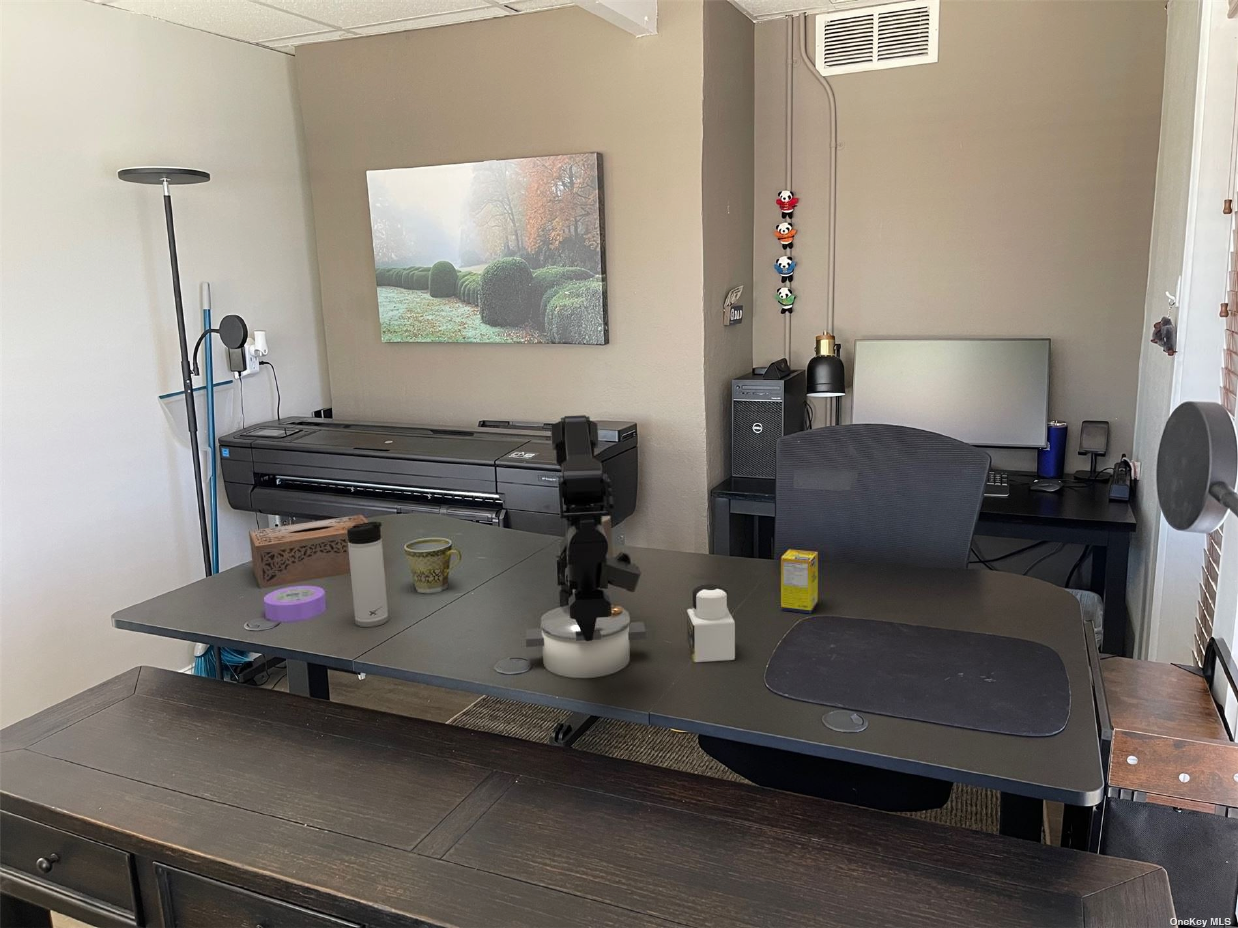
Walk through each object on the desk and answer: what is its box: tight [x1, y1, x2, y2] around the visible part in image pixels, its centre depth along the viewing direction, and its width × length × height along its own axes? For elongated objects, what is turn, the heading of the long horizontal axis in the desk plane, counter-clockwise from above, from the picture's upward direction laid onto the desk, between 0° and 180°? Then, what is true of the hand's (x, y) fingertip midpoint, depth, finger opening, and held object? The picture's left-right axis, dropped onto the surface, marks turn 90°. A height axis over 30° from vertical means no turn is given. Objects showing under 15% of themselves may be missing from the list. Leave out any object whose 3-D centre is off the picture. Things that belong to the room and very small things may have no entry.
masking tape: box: [263, 585, 327, 623], centre depth 181 cm, size 12×12×4 cm
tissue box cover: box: [248, 514, 369, 589], centre depth 207 cm, size 26×14×10 cm, turn 118°
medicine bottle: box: [686, 583, 736, 663], centre depth 154 cm, size 7×7×12 cm
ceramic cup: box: [404, 537, 462, 595], centre depth 191 cm, size 13×10×10 cm
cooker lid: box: [540, 604, 631, 641], centre depth 152 cm, size 17×15×2 cm
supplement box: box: [780, 549, 819, 615], centre depth 174 cm, size 6×6×11 cm
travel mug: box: [347, 521, 389, 628], centre depth 173 cm, size 6×7×20 cm
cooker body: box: [525, 621, 647, 679], centre depth 154 cm, size 16×20×6 cm
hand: (588, 640), depth 142 cm, fingers closed
